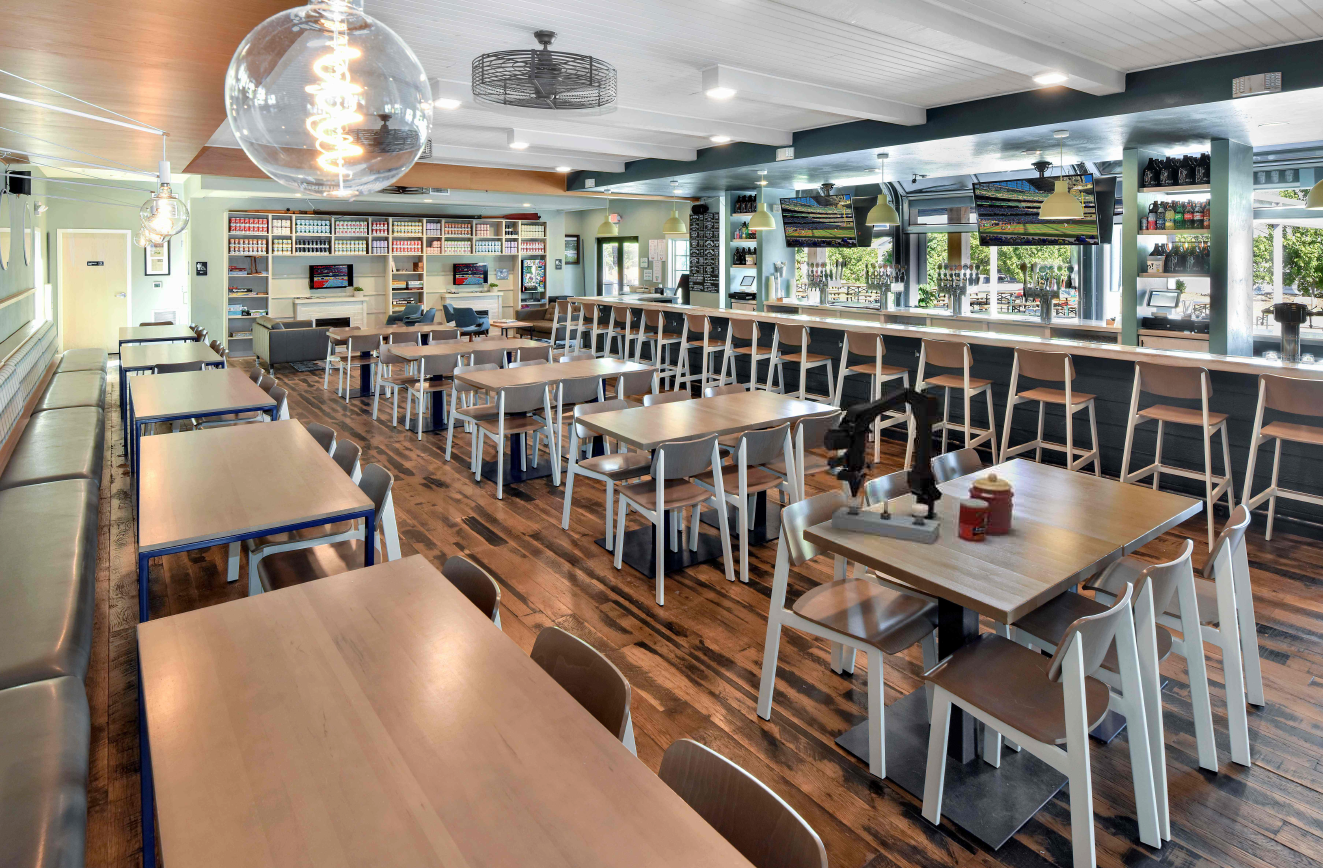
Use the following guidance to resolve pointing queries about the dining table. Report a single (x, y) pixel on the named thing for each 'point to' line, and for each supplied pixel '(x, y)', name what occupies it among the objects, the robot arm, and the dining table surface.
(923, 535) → the mount
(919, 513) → the knob right
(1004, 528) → the canister
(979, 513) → the canned food
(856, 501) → the knob left
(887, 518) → the pot stem
